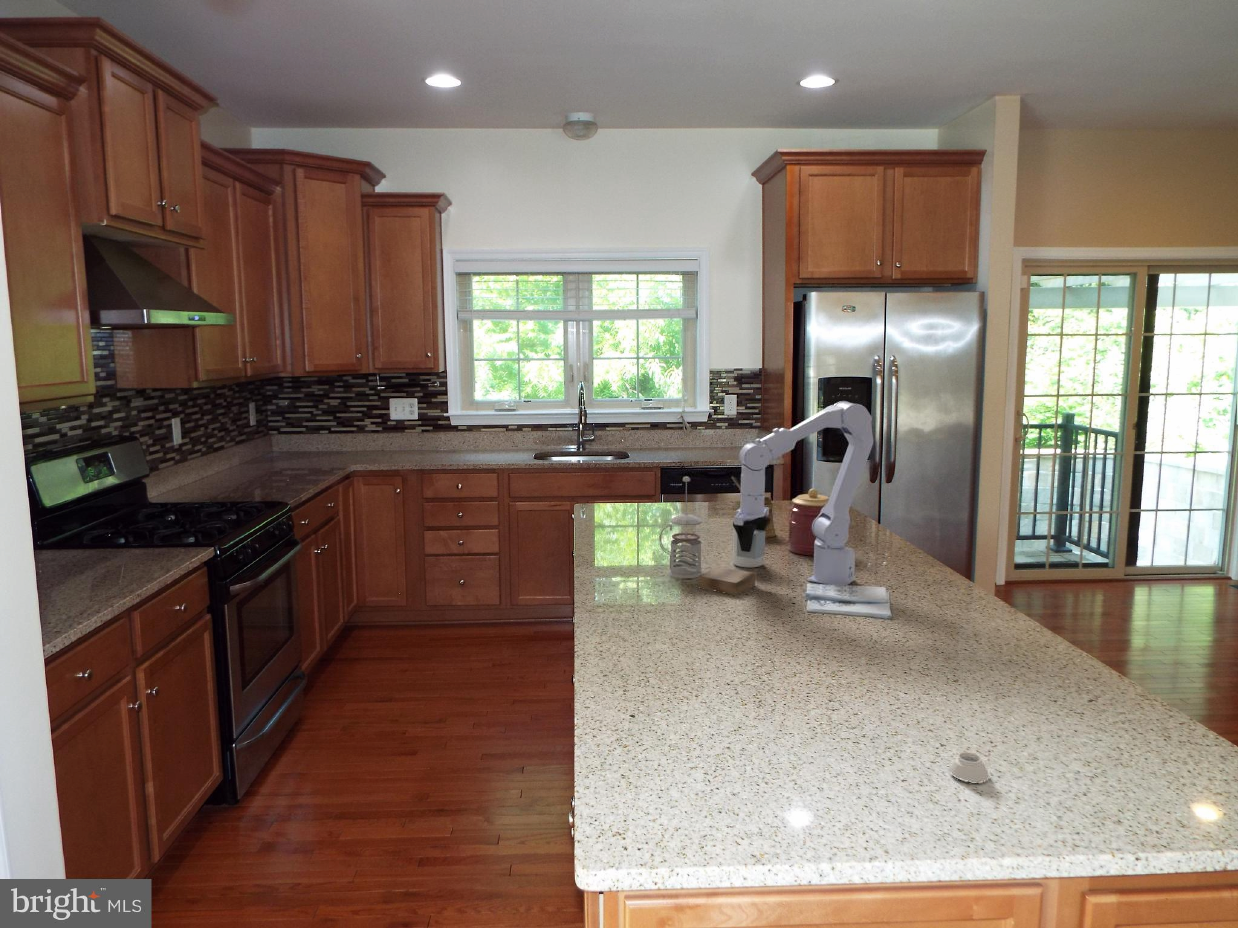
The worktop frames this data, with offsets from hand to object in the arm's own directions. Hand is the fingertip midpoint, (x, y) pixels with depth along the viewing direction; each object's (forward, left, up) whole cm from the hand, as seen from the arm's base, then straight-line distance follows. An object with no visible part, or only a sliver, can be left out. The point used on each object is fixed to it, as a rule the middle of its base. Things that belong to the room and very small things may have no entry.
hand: (751, 548), depth 209 cm
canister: (0, -38, -9) cm, 39 cm away
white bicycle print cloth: (-25, +1, -9) cm, 26 cm away
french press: (+18, +2, -9) cm, 20 cm away
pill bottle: (+8, -15, -9) cm, 19 cm away
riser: (+3, +6, -9) cm, 11 cm away
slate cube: (0, 0, -2) cm, 2 cm away
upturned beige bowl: (-67, +66, -9) cm, 94 cm away
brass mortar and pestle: (+22, -46, -9) cm, 52 cm away
